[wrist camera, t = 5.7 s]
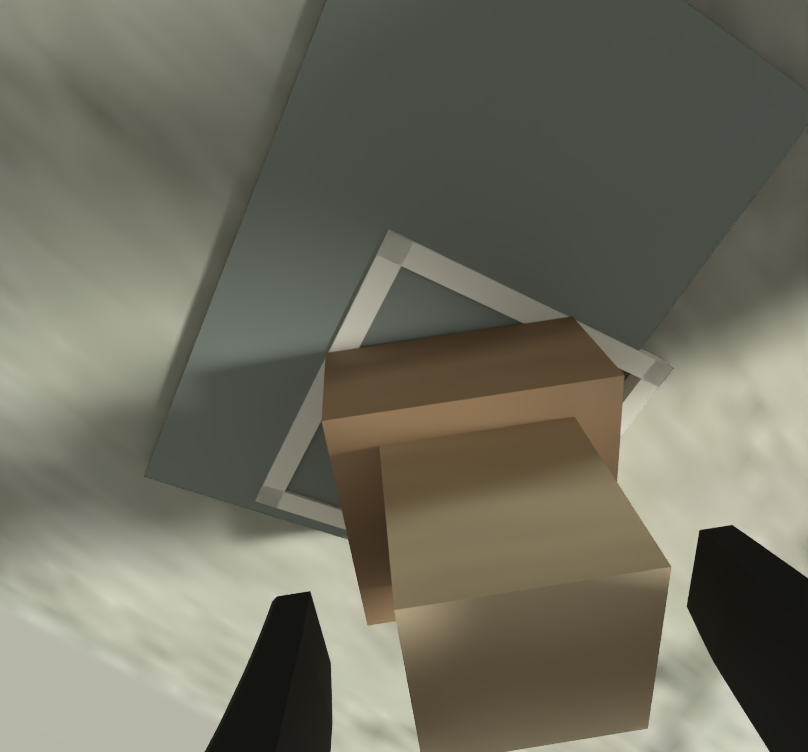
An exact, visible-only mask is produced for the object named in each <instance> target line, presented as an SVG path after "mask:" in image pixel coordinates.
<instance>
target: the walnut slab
mask: <svg viewBox="0 0 808 752" xmlns="http://www.w3.org/2000/svg"><path fill="white" fill-rule="evenodd" d="M624 377H625V375H624V374H623V373H622V372H621V371H620V370H619V368H618V367H617V366H616V365H615V364H614V363H613V362H612V361H611V359H610V358H609V357H608V356H607V355H606V354H605V353H604V351H603V350H602V349H601V348H600V347H599V346H598V345H597V344H596V342H595V341H594V340H593V339H592V338H591V337H590V336H589V334H588V333H587V332H586V331H585V330H584V329H583V328H582V327H581V325H580V324H579V323H578V322H577V321H576V320H575V319H574V318H573V316H571V317H564V318H558V319H551V320H544V321H538V322H531V323H524V324H517V325H511V326H504V327H497V328H490V329H484V330H477V331H470V332H463V333H457V334H450V335H443V336H436V337H430V338H423V339H416V340H409V341H403V342H396V343H389V344H382V345H376V346H369V347H362V348H355V349H349V350H342V351H335V352H328V353H326V356H325V372H324V389H323V405H322V425H323V430H324V434H325V439H326V443H327V448H328V452H329V456H330V461H331V465H332V470H333V474H334V479H335V483H336V487H337V492H338V496H339V501H340V505H341V510H342V514H343V518H344V523H345V527H346V532H347V536H348V541H349V545H350V549H351V554H352V558H353V563H354V567H355V572H356V576H357V581H358V585H359V589H360V594H361V598H362V603H363V607H364V612H365V616H366V620H367V625H374V624H380V623H386V622H393V621H396V617H395V611H394V602H393V591H392V580H391V569H390V558H389V547H388V536H387V525H386V514H385V503H384V492H383V481H382V471H381V460H380V449H379V446H383V445H390V444H396V443H403V442H410V441H416V440H423V439H430V438H436V437H443V436H450V435H456V434H463V433H470V432H476V431H483V430H490V429H496V428H503V427H510V426H516V425H523V424H530V423H536V422H543V421H550V420H556V419H563V418H570V417H575V418H576V419H577V421H578V423H579V424H580V426H581V427H582V429H583V430H584V432H585V433H586V435H587V437H588V438H589V440H590V441H591V443H592V444H593V446H594V447H595V449H596V451H597V452H598V454H599V455H600V457H601V458H602V460H603V461H604V463H605V465H606V466H607V468H608V469H609V471H610V472H611V474H612V475H613V477H614V479H615V480H616V482H617V474H618V460H619V446H620V432H621V418H622V405H623V391H624Z"/></svg>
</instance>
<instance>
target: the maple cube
mask: <svg viewBox="0 0 808 752" xmlns="http://www.w3.org/2000/svg"><path fill="white" fill-rule="evenodd" d="M379 449H380V460H381V471H382V481H383V492H384V503H385V514H386V525H387V536H388V547H389V558H390V569H391V580H392V591H393V602H394V611H395V617H396V622H397V628H398V633H399V638H400V644H401V649H402V655H403V660H404V665H405V671H406V676H407V682H408V687H409V692H410V698H411V703H412V709H413V714H414V719H415V725H416V730H417V736H418V741H419V746H420V752H506V751H512V750H518V749H524V748H530V747H537V746H543V745H549V744H555V743H561V742H567V741H573V740H580V739H586V738H592V737H598V736H604V735H610V734H617V733H623V732H629V731H635V730H641V729H647V728H648V723H649V716H650V710H651V703H652V696H653V689H654V682H655V675H656V668H657V661H658V655H659V648H660V641H661V634H662V627H663V620H664V613H665V607H666V600H667V593H668V586H669V579H670V572H671V566H670V564H669V563H668V561H667V559H666V558H665V556H664V555H663V553H662V552H661V550H660V549H659V547H658V545H657V544H656V542H655V541H654V539H653V538H652V536H651V535H650V533H649V531H648V530H647V528H646V527H645V525H644V524H643V522H642V521H641V519H640V517H639V516H638V514H637V513H636V511H635V510H634V508H633V507H632V505H631V503H630V502H629V500H628V499H627V497H626V496H625V494H624V493H623V491H622V489H621V488H620V486H619V485H618V483H617V482H616V480H615V479H614V477H613V475H612V474H611V472H610V471H609V469H608V468H607V466H606V465H605V463H604V461H603V460H602V458H601V457H600V455H599V454H598V452H597V451H596V449H595V447H594V446H593V444H592V443H591V441H590V440H589V438H588V437H587V435H586V433H585V432H584V430H583V429H582V427H581V426H580V424H579V423H578V421H577V419H576V418H575V417H570V418H563V419H556V420H550V421H543V422H536V423H530V424H523V425H516V426H510V427H503V428H496V429H490V430H483V431H476V432H470V433H463V434H456V435H450V436H443V437H436V438H430V439H423V440H416V441H410V442H403V443H396V444H390V445H383V446H379Z"/></svg>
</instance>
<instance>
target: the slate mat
mask: <svg viewBox="0 0 808 752" xmlns="http://www.w3.org/2000/svg"><path fill="white" fill-rule="evenodd" d="M807 125H808V91H807V90H805V89H804V88H803V87H801V86H800V85H798V84H797V83H796V82H794V81H793V80H792V79H790V78H789V77H788V76H786V75H785V74H783V73H782V72H781V71H779V70H778V69H777V68H775V67H774V66H772V65H771V64H770V63H768V62H767V61H766V60H764V59H763V58H761V57H760V56H759V55H757V54H756V53H755V52H753V51H752V50H751V49H749V48H748V47H746V46H745V45H744V44H742V43H741V42H740V41H738V40H737V39H735V38H734V37H733V36H731V35H730V34H729V33H727V32H726V31H724V30H723V29H722V28H720V27H719V26H718V25H716V24H715V23H714V22H712V21H711V20H709V19H708V18H707V17H705V16H704V15H703V14H701V13H700V12H698V11H697V10H696V9H694V8H693V7H692V6H690V5H689V4H687V3H686V2H685V1H683V0H326V3H325V5H324V8H323V11H322V13H321V16H320V18H319V21H318V24H317V26H316V29H315V31H314V34H313V37H312V39H311V42H310V45H309V47H308V50H307V52H306V55H305V58H304V60H303V63H302V65H301V68H300V71H299V73H298V76H297V78H296V81H295V84H294V86H293V89H292V92H291V94H290V97H289V99H288V102H287V105H286V107H285V110H284V112H283V115H282V118H281V120H280V123H279V125H278V128H277V131H276V133H275V136H274V139H273V141H272V144H271V146H270V149H269V152H268V154H267V157H266V159H265V162H264V165H263V167H262V170H261V172H260V175H259V178H258V180H257V183H256V185H255V188H254V191H253V193H252V196H251V199H250V201H249V204H248V206H247V209H246V212H245V214H244V217H243V219H242V222H241V225H240V227H239V230H238V232H237V235H236V238H235V240H234V243H233V246H232V248H231V251H230V253H229V256H228V259H227V261H226V264H225V266H224V269H223V272H222V274H221V277H220V279H219V282H218V285H217V287H216V290H215V292H214V295H213V298H212V300H211V303H210V306H209V308H208V311H207V313H206V316H205V319H204V321H203V324H202V326H201V329H200V332H199V334H198V337H197V339H196V342H195V345H194V347H193V350H192V353H191V355H190V358H189V360H188V363H187V366H186V368H185V371H184V373H183V376H182V379H181V381H180V384H179V386H178V389H177V392H176V394H175V397H174V400H173V402H172V405H171V407H170V410H169V413H168V415H167V418H166V420H165V423H164V426H163V428H162V431H161V433H160V436H159V439H158V441H157V444H156V446H155V449H154V452H153V454H152V457H151V460H150V462H149V465H148V467H147V470H146V473H145V475H144V477H147V478H151V479H154V480H157V481H160V482H164V483H167V484H170V485H173V486H176V487H180V488H183V489H186V490H189V491H193V492H196V493H199V494H202V495H206V496H209V497H212V498H215V499H219V500H222V501H225V502H228V503H232V504H235V505H238V506H241V507H245V508H248V509H251V510H254V511H257V512H261V513H264V514H267V515H270V516H274V517H277V518H280V519H283V520H287V521H290V522H293V523H296V524H300V525H303V526H306V527H309V528H313V529H316V530H319V531H322V532H326V533H329V534H332V535H335V536H338V537H342V538H345V539H348V536H347V532H346V527H345V523H344V518H343V514H342V510H341V505H340V501H339V496H338V492H337V487H336V483H335V479H334V474H333V470H332V465H331V461H330V456H329V452H328V448H327V443H326V439H325V434H324V430H323V425H322V405H323V389H324V372H325V356H326V353H328V352H335V351H342V350H349V349H355V348H362V347H369V346H376V345H382V344H389V343H396V342H403V341H409V340H416V339H423V338H430V337H436V336H443V335H450V334H457V333H463V332H470V331H477V330H484V329H490V328H497V327H504V326H511V325H517V324H524V323H531V322H538V321H544V320H551V319H558V318H564V317H571V316H573V318H574V319H575V320H576V321H577V322H578V323H579V324H580V325H581V327H582V328H583V329H584V330H585V331H586V332H587V333H588V334H589V336H590V337H591V338H592V339H593V340H594V341H595V342H596V344H597V345H598V346H599V347H600V348H601V349H602V350H603V351H604V353H605V354H606V355H607V356H608V357H609V358H610V359H611V361H612V362H613V363H614V364H615V365H616V366H617V367H618V368H619V370H620V371H621V372H622V373H623V372H624V371H626V372H628V373H630V374H629V376H628V377H627V378H626V380H625V381H624V391H623V405H622V418H621V432H620V436H621V435H622V434H623V432H624V431H625V430H626V429H627V427H628V426H629V425H630V423H631V422H632V421H633V420H634V418H635V417H636V416H637V415H638V413H639V412H640V411H641V409H642V408H643V407H644V406H645V404H646V403H647V402H648V400H649V399H650V398H651V397H652V395H653V394H654V393H655V392H656V390H657V389H658V388H659V386H660V385H661V384H662V383H663V381H664V380H665V379H666V378H667V376H668V375H669V374H670V372H671V371H672V370H673V369H674V368H673V367H672V366H671V365H669V364H668V363H667V362H666V361H665V360H664V359H662V358H660V357H658V356H656V355H654V354H652V353H650V352H648V351H646V350H643V349H641V347H642V346H643V345H644V343H645V342H646V341H647V339H648V338H649V337H650V335H651V334H652V333H653V331H654V330H655V329H656V327H657V326H658V325H659V323H660V322H661V321H662V319H663V318H664V317H665V315H666V314H667V313H668V311H669V310H670V309H671V307H672V306H673V304H674V303H675V302H676V300H677V299H678V298H679V296H680V295H681V294H682V292H683V291H684V290H685V288H686V287H687V286H688V284H689V283H690V282H691V280H692V279H693V278H694V276H695V275H696V274H697V272H698V271H699V270H700V268H701V267H702V266H703V264H704V263H705V262H706V260H707V259H708V258H709V256H710V255H711V253H712V252H713V251H714V249H715V248H716V247H717V245H718V244H719V243H720V241H721V240H722V239H723V237H724V236H725V235H726V233H727V232H728V231H729V229H730V228H731V227H732V225H733V224H734V223H735V221H736V220H737V219H738V217H739V216H740V215H741V213H742V212H743V211H744V209H745V208H746V207H747V205H748V204H749V203H750V201H751V200H752V198H753V197H754V196H755V194H756V193H757V192H758V190H759V189H760V188H761V186H762V185H763V184H764V182H765V181H766V180H767V178H768V177H769V176H770V174H771V173H772V172H773V170H774V169H775V168H776V166H777V165H778V164H779V162H780V161H781V160H782V158H783V157H784V156H785V154H786V153H787V152H788V150H789V149H790V147H791V146H792V145H793V143H794V142H795V141H796V139H797V138H798V137H799V135H800V134H801V133H802V131H803V130H804V129H805V127H806V126H807Z"/></svg>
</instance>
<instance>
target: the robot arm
mask: <svg viewBox="0 0 808 752" xmlns="http://www.w3.org/2000/svg"><path fill="white" fill-rule="evenodd" d="M687 608H688V610H689V612H690V614H691V616H692V618H693V621H694V623H695V625H696V627H697V629H698V631H699V633H700V636H701V638H702V640H703V642H704V644H705V646H706V648H707V650H708V652H709V654H710V656H711V658H712V660H713V662H714V663H715V665H716V667H717V668H718V670H719V672H720V673H721V675H722V676H723V678H724V680H725V681H726V683H727V684H728V686H729V688H730V689H731V691H732V692H733V694H734V696H735V697H736V699H737V701H738V702H739V704H740V705H741V707H742V708H743V710H744V712H745V713H746V715H747V716H748V718H749V720H750V721H751V723H752V724H753V726H754V727H755V729H756V731H757V732H758V734H759V735H760V737H761V739H762V740H763V742H764V743H765V745H766V746H767V748H768V750H769V751H770V752H808V578H807V577H805V576H804V575H803V574H801V573H800V572H798V571H797V570H795V569H794V568H793V567H791V566H790V565H788V564H787V563H786V562H784V561H783V560H781V559H780V558H778V557H777V556H776V555H774V554H773V553H771V552H770V551H769V550H767V549H766V548H764V547H763V546H762V545H760V544H759V543H757V542H756V541H754V540H753V539H752V538H750V537H749V536H747V535H746V534H744V533H743V532H742V531H740V530H739V529H737V528H736V527H734V526H733V525H730V526H723V527H717V528H711V529H704V530H700V531H699V537H698V543H697V549H696V555H695V561H694V567H693V572H692V578H691V584H690V590H689V596H688V602H687ZM331 736H332V688H331V662H330V659H329V655H328V652H327V648H326V645H325V641H324V638H323V634H322V631H321V627H320V624H319V620H318V617H317V613H316V610H315V606H314V603H313V599H312V596H311V592H310V591H309V592H303V593H296V594H290V595H284V596H277V597H276V598H275V599H274V600H273V602H272V604H271V606H270V609H269V612H268V615H267V617H266V620H265V623H264V625H263V628H262V630H261V633H260V635H259V638H258V640H257V643H256V645H255V647H254V650H253V652H252V654H251V657H250V659H249V661H248V664H247V666H246V668H245V671H244V673H243V675H242V677H241V679H240V681H239V684H238V686H237V688H236V690H235V692H234V694H233V696H232V698H231V701H230V703H229V705H228V707H227V709H226V711H225V713H224V715H223V717H222V720H221V722H220V724H219V726H218V728H217V730H216V731H215V733H214V736H213V737H212V739H211V741H210V743H209V745H208V747H207V749H206V750H205V752H330V751H331Z"/></svg>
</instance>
